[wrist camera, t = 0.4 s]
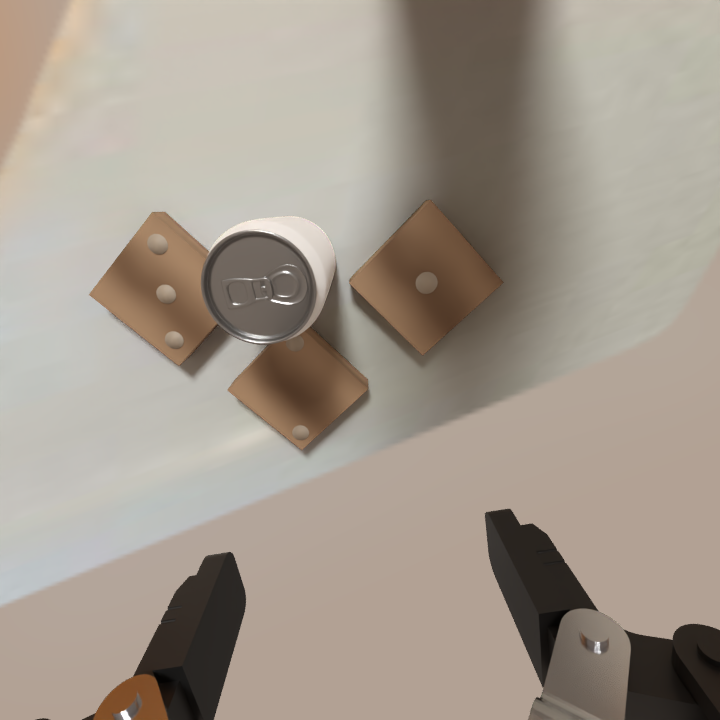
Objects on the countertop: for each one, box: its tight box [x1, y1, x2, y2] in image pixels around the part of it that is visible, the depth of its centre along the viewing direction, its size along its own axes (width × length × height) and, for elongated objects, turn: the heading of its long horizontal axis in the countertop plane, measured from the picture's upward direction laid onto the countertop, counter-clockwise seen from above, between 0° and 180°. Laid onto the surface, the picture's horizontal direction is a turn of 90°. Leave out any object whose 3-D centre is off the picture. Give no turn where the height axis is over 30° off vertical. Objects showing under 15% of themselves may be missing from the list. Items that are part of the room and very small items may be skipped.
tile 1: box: [349, 200, 504, 355], centre depth 30 cm, size 8×8×2 cm
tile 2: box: [228, 327, 368, 450], centre depth 33 cm, size 8×8×2 cm
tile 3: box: [89, 212, 218, 366], centre depth 31 cm, size 8×8×2 cm
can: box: [201, 216, 336, 345], centre depth 25 cm, size 6×6×12 cm
